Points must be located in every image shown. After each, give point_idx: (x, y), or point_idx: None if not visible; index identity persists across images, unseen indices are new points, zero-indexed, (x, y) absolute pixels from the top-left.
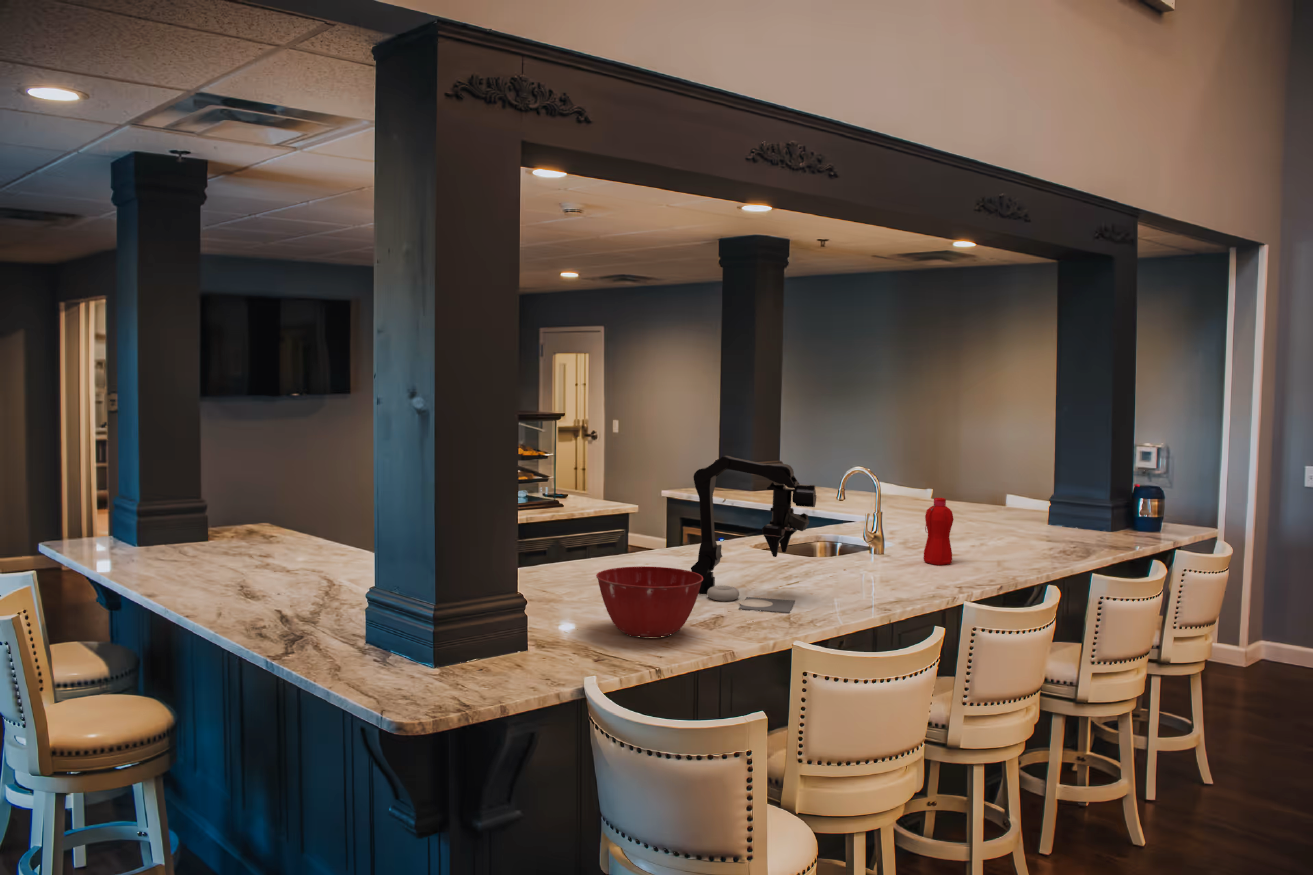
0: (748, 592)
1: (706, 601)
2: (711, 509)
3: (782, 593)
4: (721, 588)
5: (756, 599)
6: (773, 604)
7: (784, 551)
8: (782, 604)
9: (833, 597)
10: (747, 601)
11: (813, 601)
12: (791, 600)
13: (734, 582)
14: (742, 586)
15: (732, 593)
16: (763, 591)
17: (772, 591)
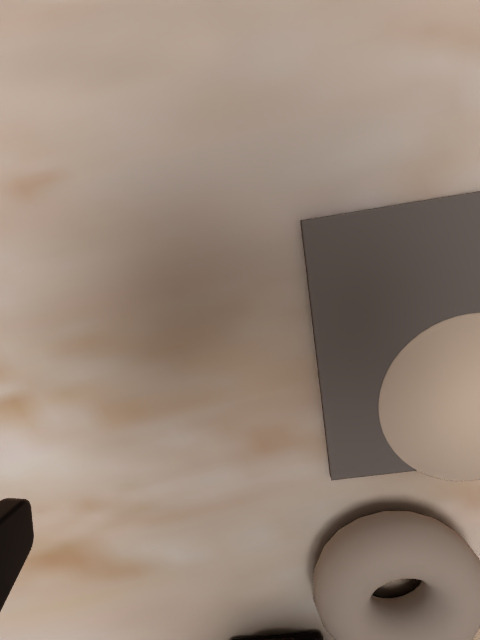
0: (195, 500)
1: None
2: None
3: (124, 343)
4: (372, 621)
5: (381, 421)
6: (464, 308)
7: (22, 522)
8: (443, 261)
9: (56, 8)
10: (449, 449)
11: (242, 111)
12: (314, 240)
13: (15, 605)
14: (78, 556)
15: (458, 548)
16: (132, 443)
17: (105, 403)
